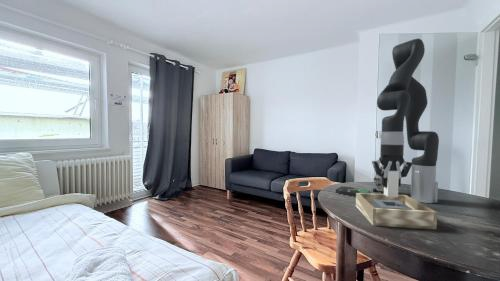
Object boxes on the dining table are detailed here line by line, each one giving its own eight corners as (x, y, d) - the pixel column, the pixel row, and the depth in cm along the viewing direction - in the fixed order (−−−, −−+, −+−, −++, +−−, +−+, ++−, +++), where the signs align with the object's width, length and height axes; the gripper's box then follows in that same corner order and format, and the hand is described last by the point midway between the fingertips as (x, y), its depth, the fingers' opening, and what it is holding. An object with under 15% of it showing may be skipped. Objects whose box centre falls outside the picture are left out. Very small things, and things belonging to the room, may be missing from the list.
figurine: (370, 194, 115) (370, 166, 115) (374, 189, 124) (375, 163, 123) (390, 197, 109) (391, 167, 109) (393, 192, 118) (394, 165, 118)
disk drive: (335, 194, 117) (365, 200, 107) (335, 189, 116) (365, 194, 107) (341, 190, 124) (370, 195, 115) (341, 185, 124) (370, 189, 115)
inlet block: (398, 210, 89) (398, 200, 89) (411, 219, 79) (412, 209, 79) (372, 208, 91) (372, 199, 91) (382, 217, 81) (382, 207, 81)
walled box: (405, 208, 93) (405, 195, 93) (436, 229, 73) (437, 212, 73) (355, 206, 97) (356, 193, 96) (372, 225, 77) (373, 208, 77)
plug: (393, 194, 86) (394, 162, 86) (398, 197, 83) (399, 163, 82) (383, 194, 87) (384, 161, 86) (387, 196, 83) (388, 163, 83)
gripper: (407, 143, 86) (405, 185, 87) (368, 142, 89) (367, 184, 90) (418, 144, 79) (416, 190, 80) (375, 143, 82) (374, 188, 82)
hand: (390, 187), depth 85 cm, fingers closed on plug, 3 cm apart
